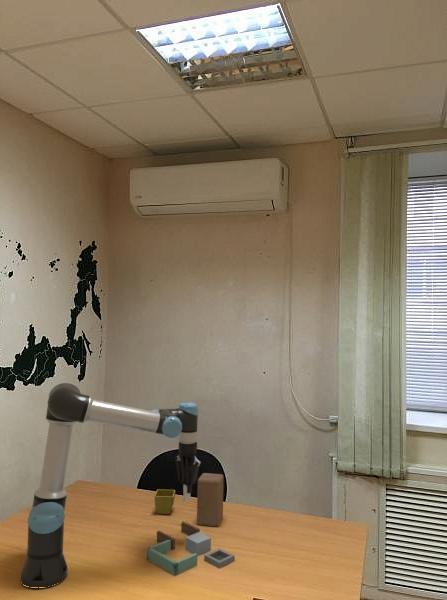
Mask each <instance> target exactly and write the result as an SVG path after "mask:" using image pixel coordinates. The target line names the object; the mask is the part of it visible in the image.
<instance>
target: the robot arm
mask: <svg viewBox="0 0 447 600" xmlns="http://www.w3.org/2000/svg"><path fill="white" fill-rule="evenodd" d="M198 409H199V408H198V405H197V403H195V402H188V401H187V402H181V403H179V407H178V408H162V409H161V408H157V409H152V410H148V409H142V408H137V407H132V406H127V405H122V404H118V403H112V402H107V401H104V400H103V401H102V400H98V399H93V397H92V396H91V395H86V394H84V393H82V392H81V391H80V389H79V388H78V386H76V385H74V384H73V383H69V382H62V383H59V384H57V385H54V387H53V388H52V389H51V390H50V392H49V394H48V399H47V408H46V416H45V420H46V421H47V422H48V429H47V430H48V431H47V436H46V442H45V443H46V444H45V449H44V455H43V456H44V457H43V463H42V470H41V477H40V483H39V484H40V485H39V488H38V489H36V490H35V491H34V494H33V500H32V501H33V502H32V507H31V509H30V511H29V513H28V517H27V527H28V528H27V548H26V549H27V551H26V552H27V554H26V559H25V562H24V564H23V567H22V570H21V573H20V583H21V582H22V583H23V584H24V585H26V586H29V587H38V588H39V587H48V586H52V585H54V584H57V583H59V582H61V581H62V580H64V579H65V578H66V579H67V577H68V571H69V570H68V564H67V561H66V557H65V554H64V532H65V529H64V528H65V526H64V525H65V519H66V517H65V516H66V514H65V510H66V504H67V503H66V502H67V497H68V495H67V494H68V492H67V490H66V489H65V488H64V487H65V482H66V474H67V467H68V461H69V455H70V448H71V441H72V435H73V434H72V433H73V428H74V425H75V424H76V423H82V424H83V423H86V422H93V423H99V424H104V425H111V426H115V427H122V428H127V429H133V430H138V431H142V432H149V433H153V434H158V435H163V436H164V437H167V438H169V439H175V438H177V437H178V452H179V453H178V455H177V456H174V457H173V459H174V462H175V466H176V473H177V479H178V482H180V483H181V484H182V489H181V490H182V492H183V500H182V501H183V502H185V503H186V502H190V501H191V493H192V492H193V485H195V484H196V483H197V481H198V474H199V471H200V470H199V469H200V466H201V465H202V461H201V460H199V459H198V456H197V452H198V421H199V420H198V418H199V417H198V416H199V413H198ZM66 576H67V577H66ZM64 581H65V580H64ZM62 582H63V581H62ZM62 582H61V583H62ZM59 584H60V583H59ZM57 585H58V584H57ZM52 587H53V586H52Z"/></svg>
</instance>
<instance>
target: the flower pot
mask: <svg viewBox="0 0 447 600" xmlns="http://www.w3.org/2000/svg"><path fill="white" fill-rule="evenodd" d="M153 497H154V507H155V511H156V512H157V514H159V515H170V513H171V512H172V509H173V506H174V502H175V497H176V490H175V489H157V490H156V491H155V494H154V496H153Z"/></svg>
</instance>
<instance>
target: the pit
mask: <svg viewBox="0 0 447 600" xmlns="http://www.w3.org/2000/svg"><path fill="white" fill-rule="evenodd" d="M235 558H236V557H235V555H234V554H232V553H230V552H228V551H226V550H224V549H222V548H217V549H215V550H213V551H212V550H211V551H209V552H207V553H205V554H204V562H206V563H208V564H209V565H212V566H214V567H216V568H218V569H222V568H223V567H226V566H227V565H230V564H232V563H234V562H235Z"/></svg>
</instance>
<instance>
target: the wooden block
mask: <svg viewBox="0 0 447 600" xmlns="http://www.w3.org/2000/svg"><path fill="white" fill-rule="evenodd" d="M196 502H197V503H196V504H197V505H196V524H197V526H198V525H200V526H207V527H208V526H209V527H216V528H217V527H219V526H220V524H221V521H222V520H223V517H224V475H223V474H221V473H210V472H209V473H208V472H203V473H202V474H201V475H200V476H199V478H197V499H196Z"/></svg>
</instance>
